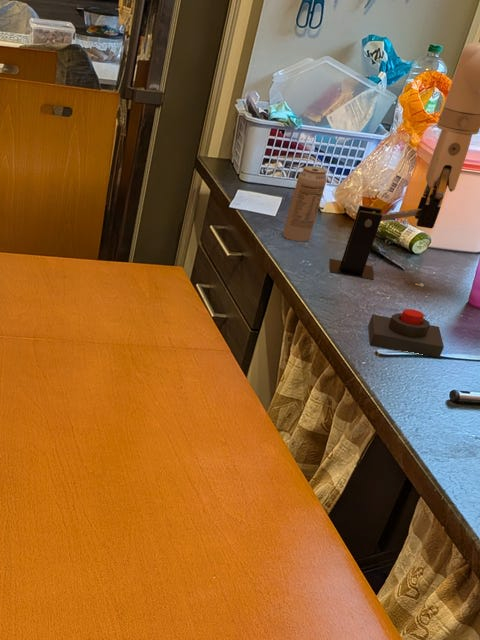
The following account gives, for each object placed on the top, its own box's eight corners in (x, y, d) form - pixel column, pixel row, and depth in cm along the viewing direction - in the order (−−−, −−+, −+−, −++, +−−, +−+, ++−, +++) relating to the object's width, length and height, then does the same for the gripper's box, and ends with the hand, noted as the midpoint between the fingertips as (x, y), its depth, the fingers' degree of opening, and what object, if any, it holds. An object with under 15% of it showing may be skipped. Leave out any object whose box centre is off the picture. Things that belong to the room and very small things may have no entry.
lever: (428, 213, 186) (429, 200, 185) (430, 220, 183) (431, 207, 181) (360, 223, 191) (360, 211, 189) (360, 230, 187) (360, 217, 186)
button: (419, 320, 167) (423, 311, 166) (421, 327, 164) (425, 318, 163) (399, 317, 167) (402, 307, 166) (400, 324, 165) (404, 314, 163)
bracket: (370, 271, 197) (392, 208, 189) (372, 285, 191) (394, 220, 182) (328, 264, 199) (347, 200, 190) (327, 277, 192) (348, 212, 184)
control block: (434, 338, 171) (443, 316, 168) (439, 358, 163) (448, 336, 161) (368, 325, 173) (375, 304, 170) (369, 345, 165) (377, 323, 162)
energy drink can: (307, 239, 211) (328, 168, 201) (308, 247, 207) (329, 174, 197) (281, 235, 212) (300, 163, 202) (281, 243, 207) (301, 170, 198)
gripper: (486, 132, 167) (446, 238, 178) (475, 116, 180) (439, 215, 191) (443, 126, 168) (406, 231, 180) (435, 110, 181) (401, 209, 192)
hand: (423, 222), depth 185 cm, fingers closed on lever, 5 cm apart
